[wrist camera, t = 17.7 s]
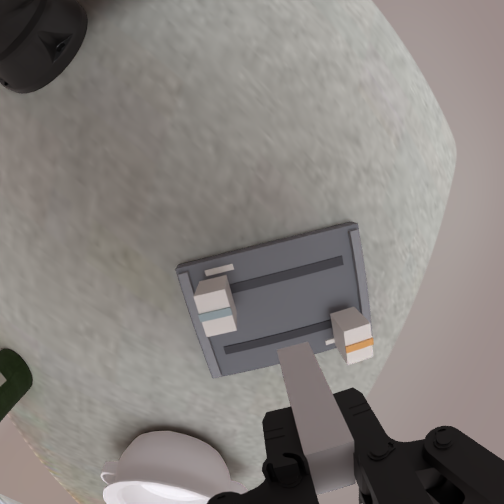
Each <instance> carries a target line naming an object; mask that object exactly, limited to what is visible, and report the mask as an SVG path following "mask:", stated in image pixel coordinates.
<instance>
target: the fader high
mask: <svg viewBox="0 0 504 504" xmlns="http://www.w3.org/2000/svg"><path fill="white" fill-rule="evenodd" d="M193 297H194V300H195V303H196V306H197V310H198V313H199V314H198V316H199V320H200V322H202V325H203V328H204V331H205V334H206V337H210V336H215V335H219V334H224V333H228V332H233V331H237V311H236V307H235V304H234V300H233V297H232V293H231V289H230V286H229V282H228V279H227V275H224V276H220V277H216V278H212V279H207V280H203V281H199V284H198V286H197V289H196V291H195V294H194V296H193Z"/></svg>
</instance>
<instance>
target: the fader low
mask: <svg viewBox="0 0 504 504" xmlns="http://www.w3.org/2000/svg"><path fill="white" fill-rule="evenodd" d="M330 316H331V322H332V328H333V335H334V342H335V346H336V347H337V349H338V350H339V352H340V354H341V355H342V357H343V358H344V360H345V362H346V363H347V365H350V364H353V363H356V362H359V361H362V360H365V359H368V358H371V357H373V348H372V345H373V344H374V343H373V338H372V335H371V324H370V322H369V321H368V320H367V319H366V318H365V317H364V316H363V315H362V314H361V313H360V312H359V311H358V310H357V309H356V308H355V307H351V308H348V309H344V310H341V311H338V312H334V313H331V314H330Z"/></svg>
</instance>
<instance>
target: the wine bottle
mask: <svg viewBox="0 0 504 504" xmlns="http://www.w3.org/2000/svg"><path fill="white" fill-rule="evenodd" d="M31 385H32V377H31V373H30V371H29V368H28V367H27V365H26V363H25V362H24V361H23V359H22V358H21V357H20V356H19V355H17V354H16V353H15V352H13V351H11V350H9V349H3V350H1V351H0V422H1V420H2V419H3V418H4V417H5V416H6V415H7V414H8V412H9V411H10V410H11V409H12V408H13V407H14V405H15V404H16V403H17V402H18V401H19V400H20V399H21V398H22V396H23V395H24V394H25V393H26V392H27V391H28V390H29V389H30V387H31Z"/></svg>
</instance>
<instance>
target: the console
mask: <svg viewBox="0 0 504 504" xmlns="http://www.w3.org/2000/svg"><path fill="white" fill-rule="evenodd" d="M175 270H176V273H177V276H178V279H179V283H180V286H181V289H182V292H183V295H184V298H185V301H186V304H187V308H188V311H189V314H190V317H191V319H192V322H193V325H194V328H195V331H196V334H197V337H198V340H199V343H200V345H201V348H202V351H203V354H204V356H205V359H206V362H207V365H208V367H209V370H210V373H211V375H212V378H217V377H222V376H227V375H232V374H237V373H241V372H246V371H250V370H255V369H259V368H264V367H268V366H272V365H276V364H280V361H279V357H278V353H277V350H278V349H282V348H285V347H289V346H293V345H297V344H301V343H304V342H308V343H309V345H310V347H311V349H312V351H313V353H314V354H317V353H321V352H324V351H327V350H331V349H334V348H337V347H336V346H335V342H334V335H333V328H332V322H331V316H330V314H331V313H334V312H338V311H341V310H344V309H348V308H351V307H355V308H356V309H357V310H358V311H359V312H360V313H361V314H362V315H363V316H364V317H365V318H366V319H367V320H368V321H369V322H370V324H371V314H370V305H369V296H368V288H367V280H366V272H365V265H364V258H363V252H362V246H361V239H360V234H359V228H358V223H354V222H348V223H344V224H340V225H335V226H331V227H327V228H323V229H319V230H315V231H311V232H307V233H303V234H299V235H295V236H291V237H287V238H283V239H279V240H275V241H271V242H267V243H263V244H259V245H255V246H251V247H247V248H243V249H239V250H235V251H231V252H227V253H223V254H219V255H215V256H211V257H207V258H203V259H199V260H195V261H191V262H187V263H183V264H179V265H178V266H177V268H176V269H175ZM224 275H227V279H228V282H229V286H230V289H231V293H232V297H233V300H234V304H235V307H236V311H237V331H233V332H228V333H224V334H219V335H215V336H210V337H206V334H205V331H204V328H203V325H202V322H200V320H199V316H198V314H199V313H198V310H197V306H196V303H195V300H194V297H193V296H194V294H195V291H196V289H197V286H198V284H199V281H203V280H207V279H212V278H216V277H220V276H224ZM371 335H372V325H371Z"/></svg>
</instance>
